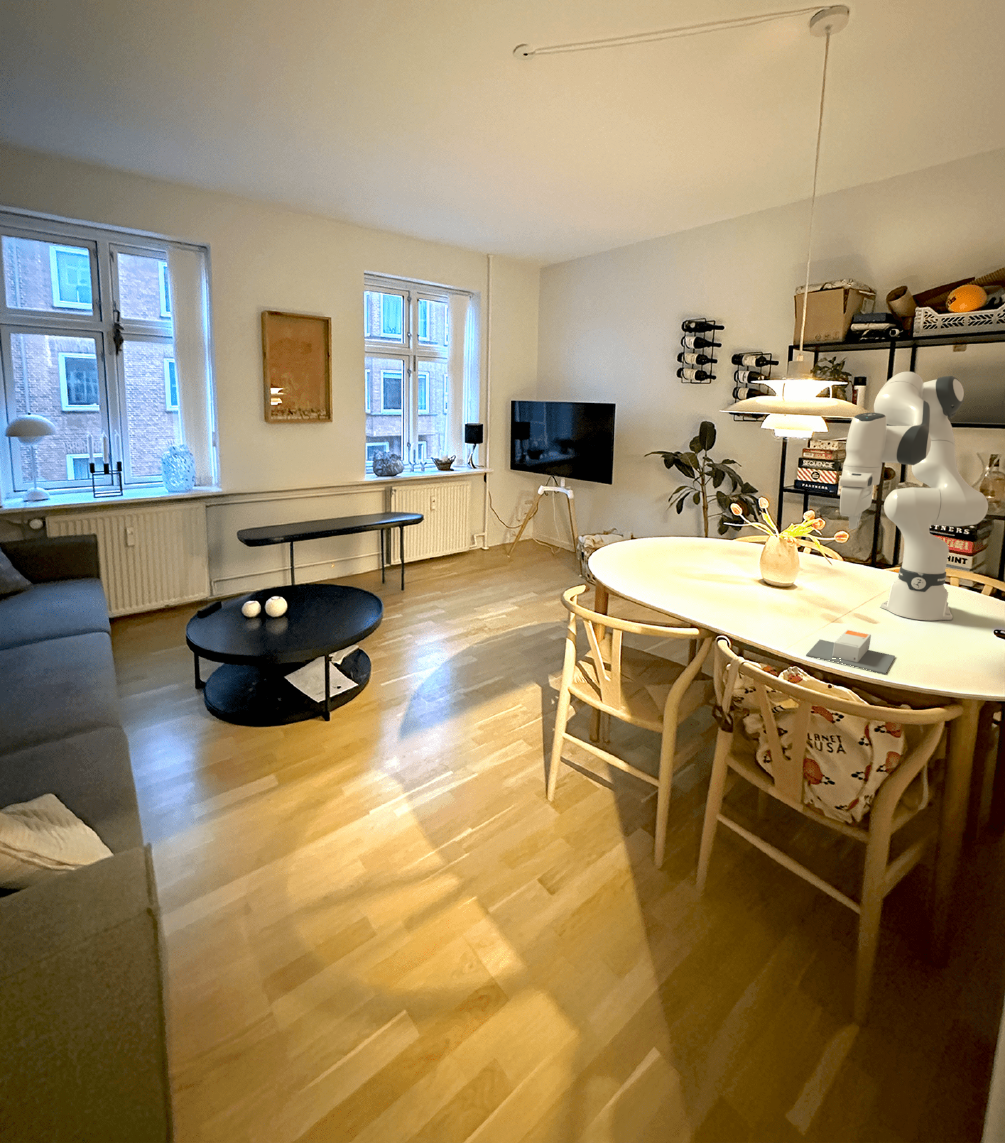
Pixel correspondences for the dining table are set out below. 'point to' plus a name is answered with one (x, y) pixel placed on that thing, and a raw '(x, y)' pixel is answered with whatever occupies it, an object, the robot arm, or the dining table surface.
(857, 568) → the dining table surface
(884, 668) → the mat
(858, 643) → the skincare box
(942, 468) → the robot arm
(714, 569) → the dining table surface
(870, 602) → the dining table surface
